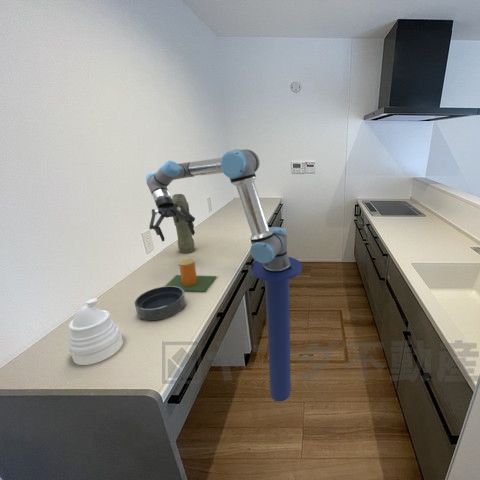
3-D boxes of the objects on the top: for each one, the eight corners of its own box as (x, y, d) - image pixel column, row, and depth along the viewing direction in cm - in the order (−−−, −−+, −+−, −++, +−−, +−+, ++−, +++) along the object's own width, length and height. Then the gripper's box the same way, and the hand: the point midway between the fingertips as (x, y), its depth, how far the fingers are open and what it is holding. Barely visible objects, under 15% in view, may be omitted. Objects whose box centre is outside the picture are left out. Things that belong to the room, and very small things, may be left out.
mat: (216, 277, 133) (216, 276, 133) (205, 292, 120) (204, 291, 120) (177, 276, 133) (176, 275, 133) (161, 290, 120) (161, 289, 120)
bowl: (193, 297, 116) (191, 286, 114) (172, 322, 100) (170, 310, 98) (154, 296, 116) (151, 285, 114) (127, 321, 100) (124, 309, 98)
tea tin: (200, 279, 129) (197, 258, 126) (193, 286, 123) (190, 265, 119) (186, 278, 129) (182, 258, 125) (179, 286, 123) (175, 264, 119)
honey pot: (119, 330, 95) (107, 287, 88) (126, 350, 86) (112, 304, 80) (71, 348, 86) (54, 301, 80) (73, 372, 78) (54, 322, 71)
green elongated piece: (199, 247, 168) (191, 193, 155) (188, 255, 157) (179, 197, 144) (186, 246, 169) (177, 192, 156) (174, 254, 158) (164, 196, 145)
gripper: (188, 201, 141) (203, 234, 137) (133, 208, 125) (149, 246, 120) (190, 193, 136) (206, 227, 131) (134, 199, 119) (149, 239, 115)
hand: (179, 236), depth 126 cm, fingers open, 13 cm apart
